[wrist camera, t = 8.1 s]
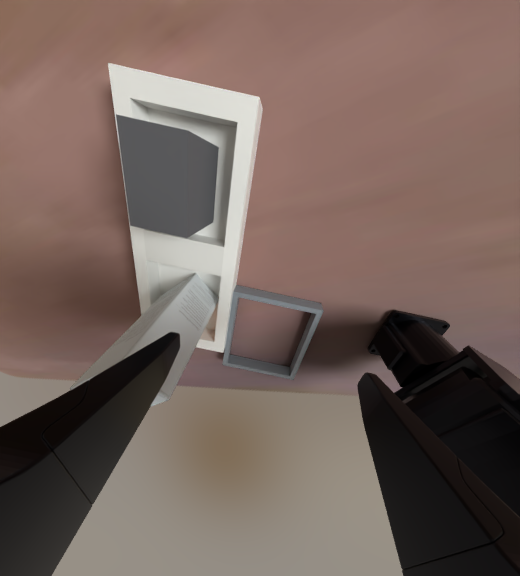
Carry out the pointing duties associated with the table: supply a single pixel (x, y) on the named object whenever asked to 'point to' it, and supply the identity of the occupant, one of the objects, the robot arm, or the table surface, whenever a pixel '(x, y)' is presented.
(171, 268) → the divided desk organizer
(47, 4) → the table surface
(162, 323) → the skincare box
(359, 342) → the table surface
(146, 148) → the dark gray rectangular block
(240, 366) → the gray rectangular frame
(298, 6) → the table surface
